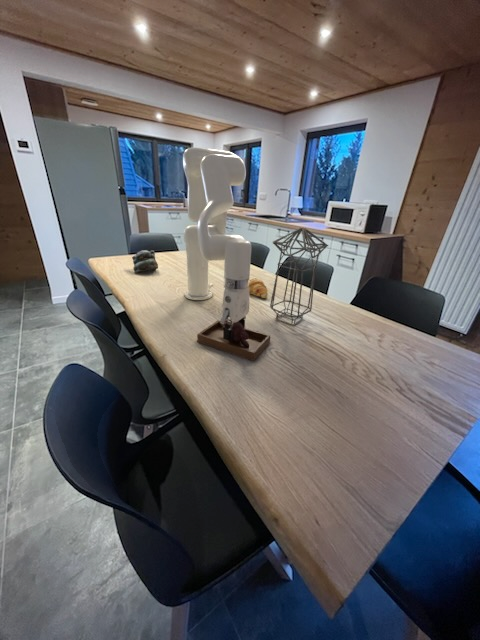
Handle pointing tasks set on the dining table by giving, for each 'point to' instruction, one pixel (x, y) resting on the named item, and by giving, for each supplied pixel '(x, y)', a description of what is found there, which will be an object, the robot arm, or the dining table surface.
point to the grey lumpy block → (144, 261)
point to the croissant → (257, 288)
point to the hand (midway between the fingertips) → (234, 334)
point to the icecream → (239, 334)
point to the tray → (215, 339)
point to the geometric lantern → (276, 243)
